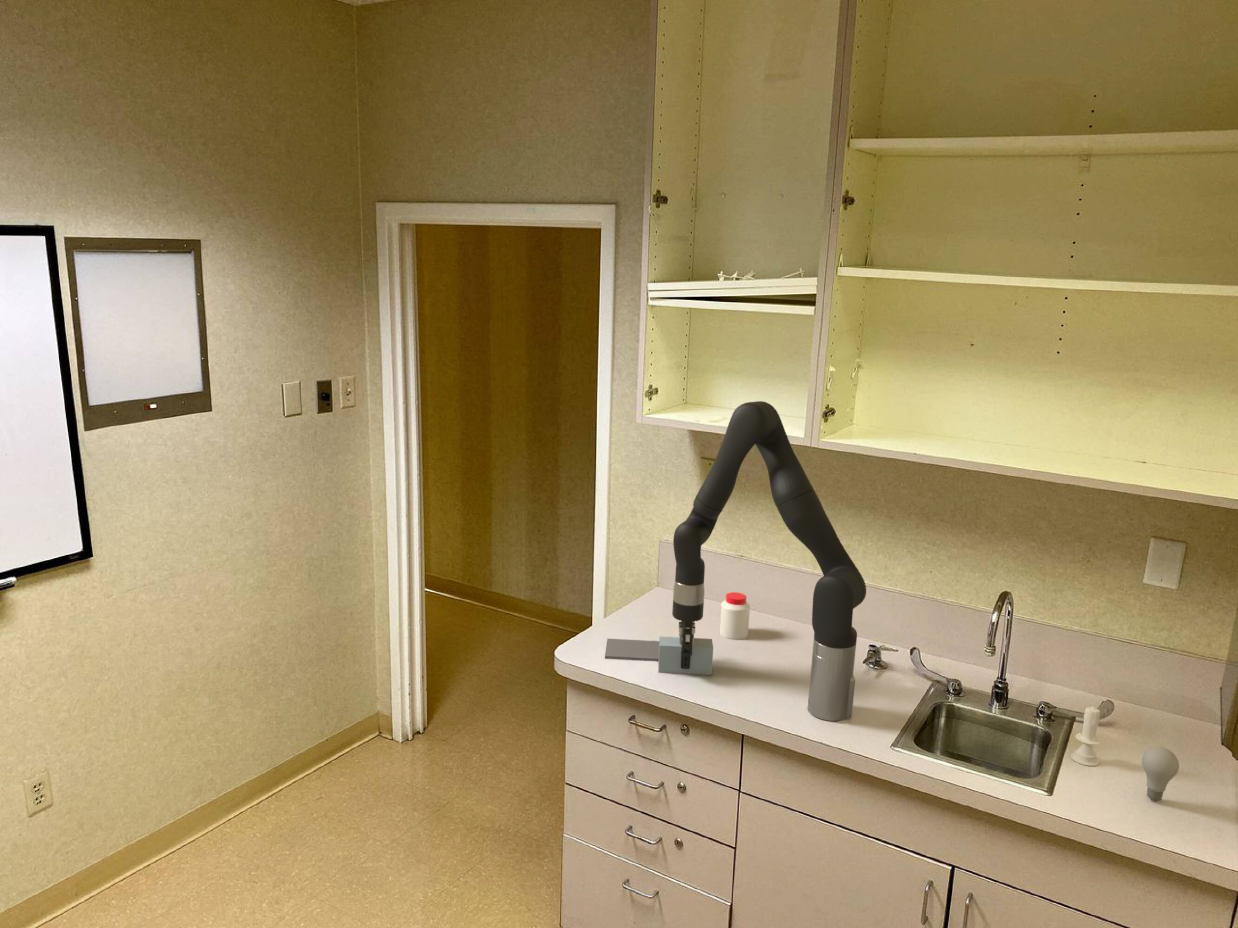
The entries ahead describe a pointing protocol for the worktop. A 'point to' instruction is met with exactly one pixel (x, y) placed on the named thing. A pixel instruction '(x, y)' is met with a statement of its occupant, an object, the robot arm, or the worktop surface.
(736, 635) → the pill bottle
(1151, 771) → the lightbulb
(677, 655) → the cover
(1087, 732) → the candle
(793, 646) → the worktop surface
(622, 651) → the mat
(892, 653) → the worktop surface
